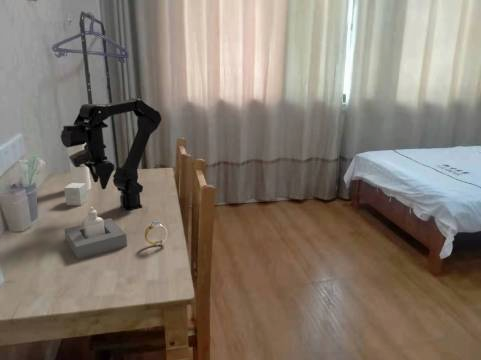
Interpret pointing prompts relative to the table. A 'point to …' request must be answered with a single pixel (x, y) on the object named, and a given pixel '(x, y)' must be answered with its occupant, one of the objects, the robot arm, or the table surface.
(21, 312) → the table surface
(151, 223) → the bracelet
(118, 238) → the holder block
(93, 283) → the table surface
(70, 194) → the product box
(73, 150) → the cylindrical container
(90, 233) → the eye dropper bottle
